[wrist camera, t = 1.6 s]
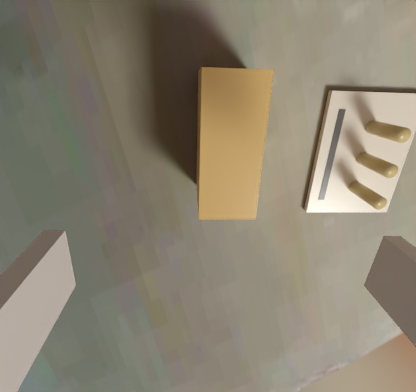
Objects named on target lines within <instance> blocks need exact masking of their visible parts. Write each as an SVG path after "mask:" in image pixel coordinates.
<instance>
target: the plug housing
mask: <svg viewBox="0 0 416 392" xmlns="http://www.w3.org/2000/svg"><path fill="white" fill-rule="evenodd" d="M273 74H274V70H266V69H241V68H215V67H201V68H200V69H199V70H198V121H197V201H198V217H199V219H256V211H257V203H258V195H259V187H260V179H261V171H262V163H263V155H264V147H265V138H266V130H267V122H268V114H269V106H270V98H271V90H272V82H273Z"/></svg>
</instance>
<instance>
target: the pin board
mask: <svg viewBox="0 0 416 392" xmlns="http://www.w3.org/2000/svg"><path fill="white" fill-rule="evenodd" d="M415 131H416V93H391V92H361V91H331V90H329V92H328V97H327V102H326V107H325V112H324V116H323V121H322V126H321V131H320V136H319V140H318V145H317V150H316V155H315V160H314V164H313V169H312V174H311V179H310V184H309V188H308V193H307V198H306V203H305V208H304V210H305V211H306V212H387V209H388V207H389V204H390V201H391V198H392V195H393V193H394V190H395V187H396V184H397V181H398V179H399V176H400V173H401V170H402V167H403V165H404V162H405V159H406V156H407V154H408V151H409V148H410V145H411V142H412V140H413V137H414V134H415Z"/></svg>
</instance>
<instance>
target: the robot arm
mask: <svg viewBox="0 0 416 392" xmlns="http://www.w3.org/2000/svg"><path fill="white" fill-rule="evenodd" d="M75 286H76V284H75V279H74V273H73V268H72V263H71V258H70V253H69V248H68V242H67V237H66V232H65V230H44V231H43V232H42V233H41V234H40V235H39V236H38V237H37V238H36V239H35V240H34V241H33V243H32V244H31V245H30V246H29V247H28V248H27V249H26V250H25V251H24V252H23V253H22V254H21V255H20V256H19V257H18V258H17V259H16V260H15V261H14V262H13V263H12V264H11V265H10V266H9V267H8V269H7V270H6V271H5V272H4V273H3V274H2V275H1V276H0V392H17V391H18V389H19V387H20V385H21V384H22V382H23V380H24V378H25V376H26V374H27V373H28V371H29V369H30V367H31V365H32V364H33V362H34V360H35V358H36V356H37V355H38V353H39V351H40V349H41V347H42V345H43V344H44V342H45V340H46V338H47V336H48V335H49V333H50V331H51V329H52V327H53V326H54V324H55V322H56V320H57V318H58V317H59V315H60V313H61V311H62V309H63V307H64V306H65V304H66V302H67V300H68V298H69V297H70V295H71V293H72V291H73V289H74V288H75ZM364 286H365V287H366V288H367V290H368V291H369V292H370V293H371V294H372V296H373V297H374V298H375V299H376V300H377V301H378V303H379V304H380V305H381V306H382V307H383V309H384V310H385V311H386V312H387V313H388V314H389V316H390V317H391V318H392V319H393V320H394V322H395V323H396V324H397V325H398V326H399V328H400V329H401V330H402V331H403V332H404V333H405V335H406V336H407V337H408V338H409V339H410V341H411V342H412V343H413V344H414V345H415V346H416V248H415V247H414V246H413V245H411V244H410V243H409V242H407V241H406V240H405V239H403V238H402V237H401V236H384V237H383V239H382V242H381V244H380V247H379V249H378V252H377V254H376V257H375V259H374V262H373V264H372V267H371V269H370V272H369V274H368V277H367V279H366V282H365V284H364Z"/></svg>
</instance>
